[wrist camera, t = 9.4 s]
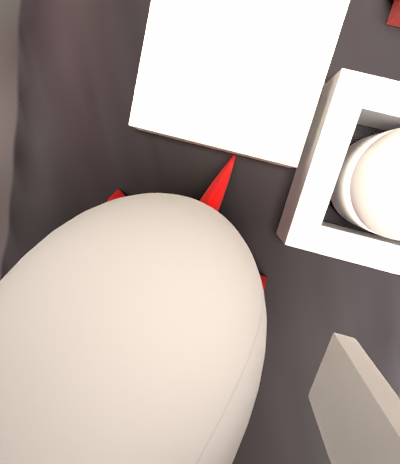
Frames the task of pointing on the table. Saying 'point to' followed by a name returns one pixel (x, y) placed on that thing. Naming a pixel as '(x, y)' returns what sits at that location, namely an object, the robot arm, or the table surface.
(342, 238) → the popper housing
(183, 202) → the rocket
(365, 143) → the dome
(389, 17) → the red die
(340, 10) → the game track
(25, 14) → the table surface
